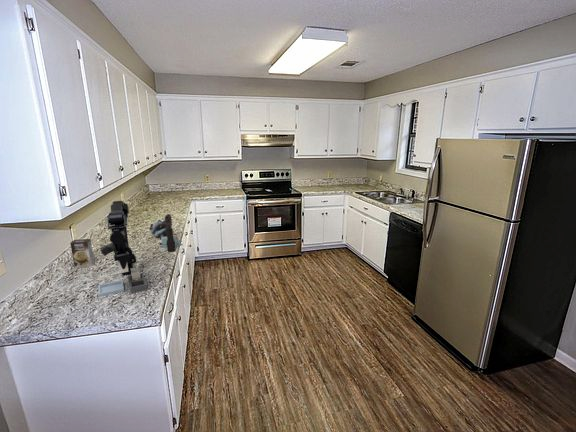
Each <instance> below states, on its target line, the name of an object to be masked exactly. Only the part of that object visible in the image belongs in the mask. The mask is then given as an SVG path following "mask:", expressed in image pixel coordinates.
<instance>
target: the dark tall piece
mask: <svg viewBox="0 0 576 432" xmlns="http://www.w3.org/2000/svg"><path fill="white" fill-rule="evenodd" d="M164 220H165V223H166V235H165V236H162V237H161V242H159V246H158V247H159V248H160V249H161V248H162V249H166V248H167V253H174V252H176V248H177V247H181V246H184V245H183V243H181V242H180V240H179V238H178V237H177V236H174V232H173V228H172V227H173V226H172V225H173V221H172V215H171V214H170V213H167V214H166V215H165V216H164Z"/></svg>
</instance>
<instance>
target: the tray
mask: <svg viewBox="0 0 576 432" xmlns="http://www.w3.org/2000/svg"><path fill="white" fill-rule="evenodd" d="M97 286H98V289H97V290H98V297H99V298H100V297H101V298H102V297H105V296H109V295H114V294H119V293H123V292H125V289H124V287H125V286H124V282H123V279H122V280H118V281H113V282H107V283H102V284H98V285H97Z"/></svg>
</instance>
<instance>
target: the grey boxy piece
mask: <svg viewBox="0 0 576 432" xmlns="http://www.w3.org/2000/svg"><path fill="white" fill-rule="evenodd" d="M127 281H128V286H129V290H130V294H136V293H139V292H144V291H148V284H147V281H146V278H145V274H144V272H141V270H140V266H139V267H133V268H131V275H127Z"/></svg>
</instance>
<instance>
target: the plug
mask: <svg viewBox="0 0 576 432" xmlns="http://www.w3.org/2000/svg"><path fill="white" fill-rule="evenodd" d="M117 265H118V272H119V274H122V273H124V272H129V271H128V264H126V267H125V269H122V267H121V264H120V262H119V261H117Z"/></svg>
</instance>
